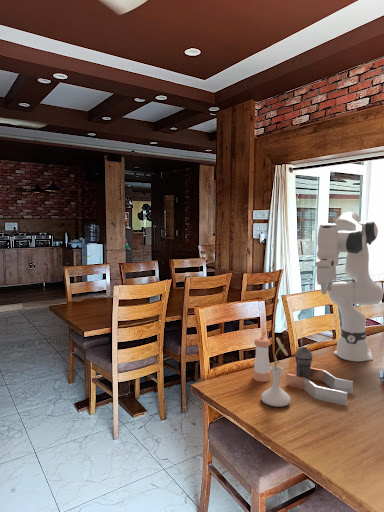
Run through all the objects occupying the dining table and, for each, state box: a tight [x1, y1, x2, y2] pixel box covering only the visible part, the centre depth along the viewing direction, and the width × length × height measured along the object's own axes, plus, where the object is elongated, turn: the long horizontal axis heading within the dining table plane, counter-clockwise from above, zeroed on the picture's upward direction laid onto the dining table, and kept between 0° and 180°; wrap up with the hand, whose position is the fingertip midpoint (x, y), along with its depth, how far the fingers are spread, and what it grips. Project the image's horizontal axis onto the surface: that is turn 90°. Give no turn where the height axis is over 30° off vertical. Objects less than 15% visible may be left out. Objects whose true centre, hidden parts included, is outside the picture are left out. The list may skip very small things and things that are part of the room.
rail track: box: [286, 364, 354, 407], centre depth 160 cm, size 19×25×5 cm
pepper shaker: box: [253, 336, 271, 382], centre depth 170 cm, size 7×7×19 cm
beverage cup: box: [294, 337, 313, 380], centre depth 166 cm, size 7×7×20 cm
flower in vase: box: [260, 337, 292, 408], centre depth 148 cm, size 13×11×25 cm
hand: (326, 292), depth 167 cm, fingers open, 8 cm apart
